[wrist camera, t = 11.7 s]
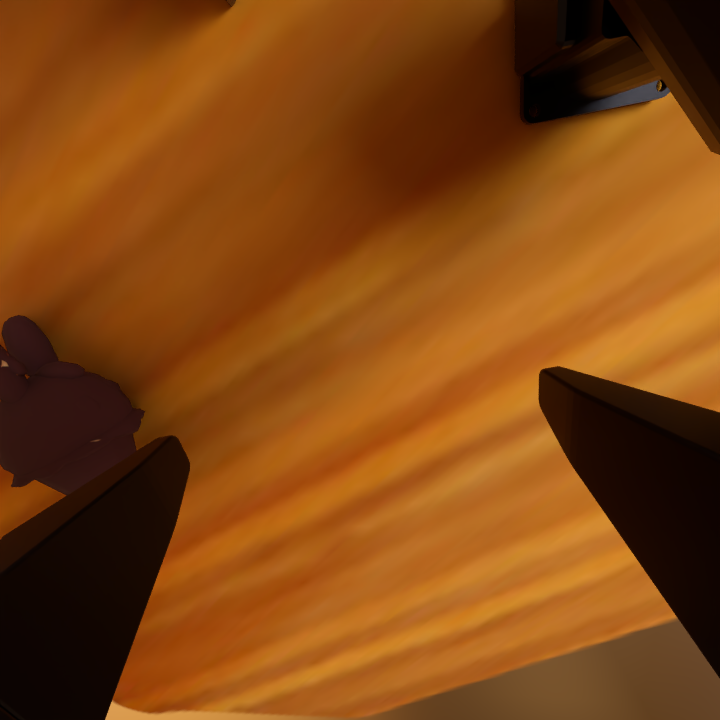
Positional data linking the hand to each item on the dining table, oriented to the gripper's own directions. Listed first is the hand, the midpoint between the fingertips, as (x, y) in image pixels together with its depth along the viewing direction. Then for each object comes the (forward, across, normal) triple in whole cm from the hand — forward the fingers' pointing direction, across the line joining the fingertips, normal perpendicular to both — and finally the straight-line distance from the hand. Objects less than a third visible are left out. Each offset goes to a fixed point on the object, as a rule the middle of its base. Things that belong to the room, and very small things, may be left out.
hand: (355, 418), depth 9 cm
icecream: (+14, +17, +5) cm, 22 cm away
